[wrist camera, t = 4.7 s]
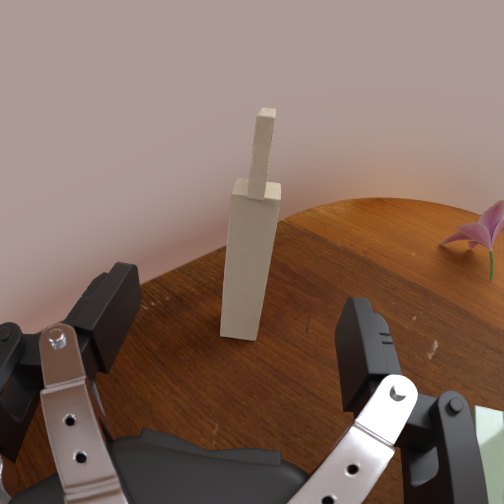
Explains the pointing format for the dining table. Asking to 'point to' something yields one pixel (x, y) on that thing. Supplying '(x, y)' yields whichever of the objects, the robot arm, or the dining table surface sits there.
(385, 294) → the dining table surface
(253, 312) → the cream offset-tab post
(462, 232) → the lily
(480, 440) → the caddy
